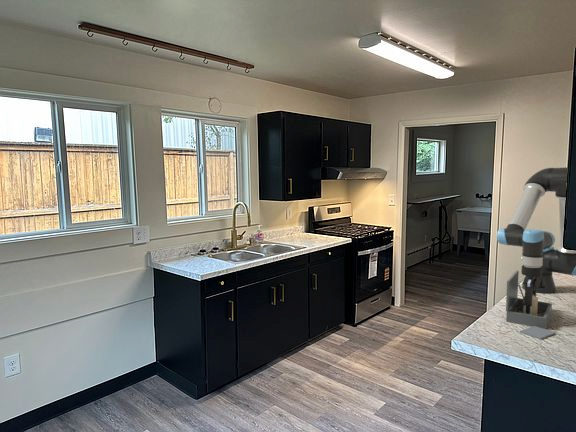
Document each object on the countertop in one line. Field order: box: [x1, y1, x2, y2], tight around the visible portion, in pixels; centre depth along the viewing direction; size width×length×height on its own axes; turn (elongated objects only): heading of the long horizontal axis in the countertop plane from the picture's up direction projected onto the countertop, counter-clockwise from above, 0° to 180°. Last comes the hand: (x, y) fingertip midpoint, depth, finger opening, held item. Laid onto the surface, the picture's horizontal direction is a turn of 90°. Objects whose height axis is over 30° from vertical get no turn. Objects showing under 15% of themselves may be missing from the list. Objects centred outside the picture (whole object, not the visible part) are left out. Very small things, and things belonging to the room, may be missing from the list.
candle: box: [521, 295, 539, 316], centre depth 173 cm, size 6×6×10 cm
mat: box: [519, 326, 556, 340], centre depth 157 cm, size 10×8×1 cm
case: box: [505, 270, 553, 330], centre depth 173 cm, size 23×14×18 cm, turn 141°
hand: (529, 316), depth 174 cm, fingers open, 9 cm apart
